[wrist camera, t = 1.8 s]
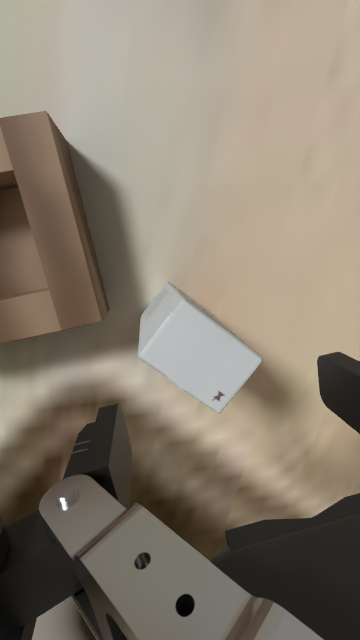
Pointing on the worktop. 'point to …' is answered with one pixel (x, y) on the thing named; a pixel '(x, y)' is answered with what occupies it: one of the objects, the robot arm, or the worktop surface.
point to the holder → (43, 235)
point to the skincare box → (194, 349)
